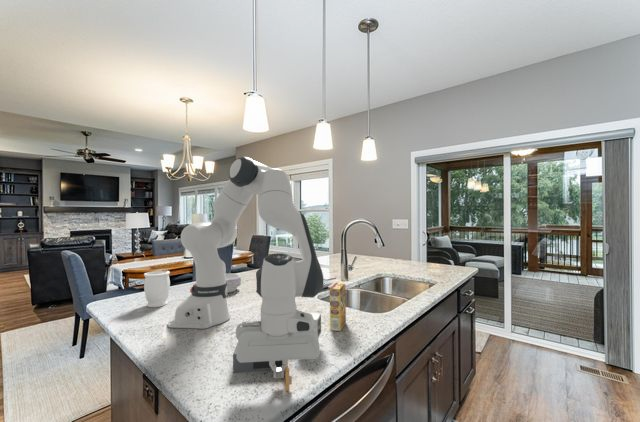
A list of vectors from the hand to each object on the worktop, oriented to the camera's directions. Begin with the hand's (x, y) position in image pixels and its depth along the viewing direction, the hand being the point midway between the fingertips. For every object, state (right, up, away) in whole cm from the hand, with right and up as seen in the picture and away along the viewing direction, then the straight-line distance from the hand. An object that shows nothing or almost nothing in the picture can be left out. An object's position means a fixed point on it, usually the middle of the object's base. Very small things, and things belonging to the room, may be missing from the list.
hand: (278, 376), depth 72 cm
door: (+2, -2, +2) cm, 4 cm away
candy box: (+17, -2, +36) cm, 40 cm away
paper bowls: (-41, -2, +85) cm, 94 cm away
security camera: (+7, -2, +20) cm, 21 cm away
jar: (-65, -3, +62) cm, 90 cm away
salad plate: (+3, -3, +91) cm, 91 cm away
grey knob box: (-7, -2, +11) cm, 13 cm away
